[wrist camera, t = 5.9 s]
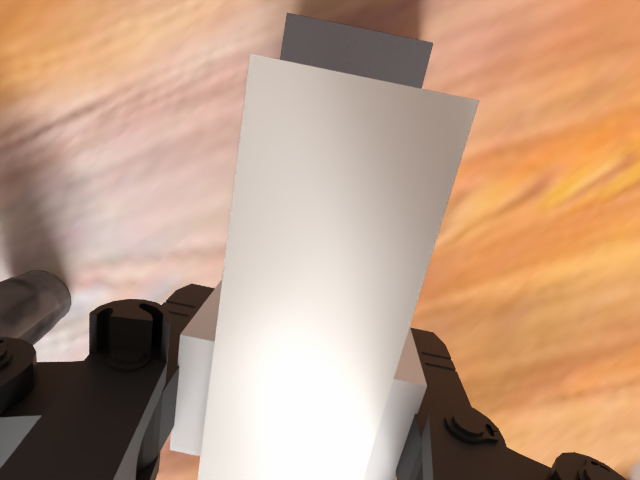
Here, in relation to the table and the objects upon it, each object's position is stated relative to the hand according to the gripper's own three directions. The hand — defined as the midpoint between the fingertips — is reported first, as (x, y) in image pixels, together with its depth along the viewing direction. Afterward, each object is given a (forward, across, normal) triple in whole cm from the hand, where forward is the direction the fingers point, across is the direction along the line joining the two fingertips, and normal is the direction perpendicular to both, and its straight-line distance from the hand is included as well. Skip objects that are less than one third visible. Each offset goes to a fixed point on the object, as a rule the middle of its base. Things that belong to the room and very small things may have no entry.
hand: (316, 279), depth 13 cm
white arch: (+4, 0, 0) cm, 4 cm away
